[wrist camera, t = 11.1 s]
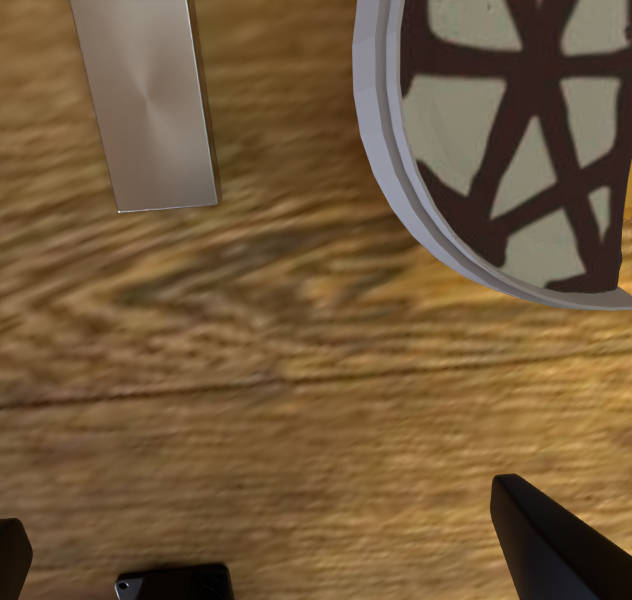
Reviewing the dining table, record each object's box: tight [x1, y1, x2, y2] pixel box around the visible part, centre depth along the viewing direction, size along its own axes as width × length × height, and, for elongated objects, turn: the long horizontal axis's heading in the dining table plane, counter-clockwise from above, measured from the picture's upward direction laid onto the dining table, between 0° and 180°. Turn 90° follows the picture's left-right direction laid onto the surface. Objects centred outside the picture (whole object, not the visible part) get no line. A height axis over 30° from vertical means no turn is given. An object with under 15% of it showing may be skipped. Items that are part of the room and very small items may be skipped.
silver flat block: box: [69, 0, 222, 213], centre depth 17 cm, size 8×4×1 cm, turn 4°
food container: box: [352, 0, 632, 311], centre depth 13 cm, size 12×6×10 cm, turn 8°
